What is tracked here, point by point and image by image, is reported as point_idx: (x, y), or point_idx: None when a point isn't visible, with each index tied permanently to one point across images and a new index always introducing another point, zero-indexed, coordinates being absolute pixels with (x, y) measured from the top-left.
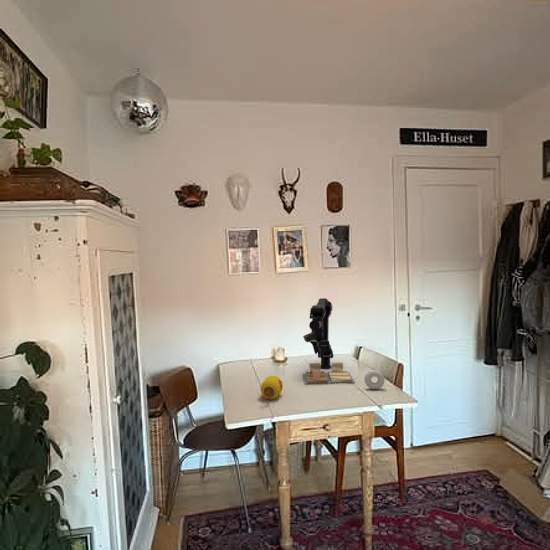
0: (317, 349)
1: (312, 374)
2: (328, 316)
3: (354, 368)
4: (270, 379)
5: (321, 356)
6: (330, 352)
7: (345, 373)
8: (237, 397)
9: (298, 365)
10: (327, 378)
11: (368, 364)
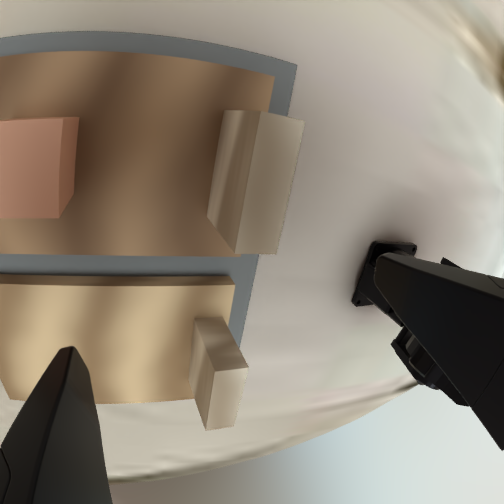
0: (424, 335)
1: (155, 124)
2: None
3: (299, 401)
4: None
5: (59, 365)
6: (414, 370)
7: (144, 389)
8: None
9: (460, 125)
10: (86, 255)
11: (326, 430)
